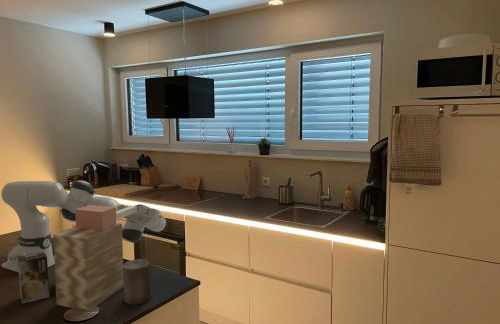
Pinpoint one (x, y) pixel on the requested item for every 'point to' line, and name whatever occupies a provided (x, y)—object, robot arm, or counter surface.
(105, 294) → the oak pedestal
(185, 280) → the counter surface
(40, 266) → the coffee box
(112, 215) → the handled block
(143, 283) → the pillar candle
